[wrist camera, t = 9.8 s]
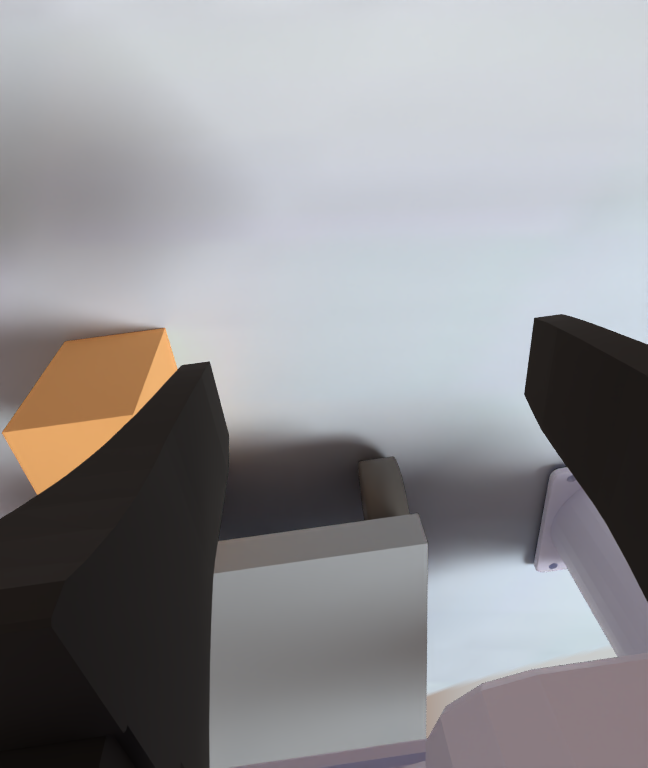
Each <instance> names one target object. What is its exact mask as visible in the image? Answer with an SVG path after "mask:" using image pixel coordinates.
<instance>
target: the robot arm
mask: <svg viewBox="0 0 648 768" xmlns="http://www.w3.org/2000/svg"><path fill="white" fill-rule="evenodd" d="M524 395H525V397H526V399H527V401H528V403H529V406H530V408H531V410H532V412H533V414H534V416H535V418H536V420H537V422H538V424H539V426H540V428H541V430H542V431H543V433H544V434H545V436H546V437H547V439H548V440H549V442H550V443H551V444H552V446H553V447H554V449H555V450H556V452H557V453H558V455H559V456H560V457H561V459H562V460H563V462H564V463H565V465H566V466H567V467H565V468H559V469H556V470H554V471H553V472H552V473H551V475H550V478H549V483H548V489H547V494H546V500H545V505H544V511H543V516H542V521H541V527H540V532H539V538H538V543H537V549H536V554H535V560H534V566H535V568H536V570H537V571H538V572H549V571H556V570H563V569H568V571H569V572H570V574H571V576H572V578H573V579H574V581H575V583H576V585H577V586H578V588H579V590H580V592H581V593H582V595H583V597H584V599H585V600H586V602H587V604H588V606H589V607H590V609H591V611H592V613H593V614H594V616H595V618H596V620H597V621H598V623H599V625H600V627H601V628H602V630H603V632H604V634H605V635H606V637H607V639H608V641H609V642H610V644H611V646H612V648H613V649H614V651H615V653H616V655H617V656H618V657H614V658H607V659H600V660H593V661H587V662H580V663H573V664H566V665H559V666H553V667H546V668H540V669H532V670H528V671H525V672H521V673H518V674H514V675H511V676H507V677H503V678H500V679H496V680H493V681H489V682H486V683H482V684H481V685H479V686H477V687H476V688H474V689H473V690H471V691H470V692H468V693H466V694H465V695H463V696H461V697H460V698H458V699H457V700H455V701H453V702H452V703H451V704H449V705H447V706H446V707H445V709H444V710H443V712H442V714H441V715H440V717H439V719H438V721H437V723H436V724H435V727H434V728H433V730H432V732H431V734H430V736H429V737H428V738H426V739H419V740H412V741H406V742H399V743H392V744H385V745H379V746H372V747H365V748H358V749H351V750H345V751H338V752H331V753H324V754H318V755H311V756H304V757H297V758H291V759H284V760H277V761H270V762H263V763H257V764H250V765H243V766H236V767H230V768H648V344H645V343H642V342H640V341H637V340H634V339H632V338H629V337H626V336H624V335H621V334H618V333H616V332H613V331H611V330H608V329H605V328H603V327H600V326H597V325H595V324H592V323H589V322H586V321H583V320H580V319H577V318H574V317H571V316H567V315H562V314H560V315H553V316H545V317H538V318H534V324H533V332H532V340H531V347H530V355H529V362H528V370H527V378H526V385H525V393H524ZM228 467H229V434H228V430H227V426H226V422H225V418H224V414H223V411H222V407H221V403H220V399H219V395H218V391H217V388H216V384H215V380H214V376H213V372H212V368H211V365H210V362H203V363H195V364H188V365H182V366H181V367H180V368H179V369H178V370H177V371H176V372H175V373H174V374H173V375H172V376H171V377H170V378H169V379H168V380H167V381H166V382H165V384H164V385H163V386H162V387H161V388H160V389H159V390H158V391H157V392H156V393H155V395H154V396H153V397H152V398H151V399H150V400H149V401H148V402H147V403H146V404H145V405H144V406H143V407H142V408H141V409H140V410H139V412H138V413H137V414H136V415H135V416H134V417H133V418H132V419H130V420H129V421H128V422H127V423H126V424H125V425H124V426H123V427H122V428H121V429H120V430H119V431H118V432H117V433H116V434H115V435H114V436H113V437H112V438H111V439H110V440H109V441H107V442H106V443H105V444H104V445H103V446H102V447H101V448H100V449H98V450H97V451H96V452H95V453H94V454H93V455H91V456H90V457H89V458H88V459H86V460H85V461H84V462H83V463H81V464H80V465H79V466H78V467H76V468H75V469H74V470H72V471H71V472H70V473H69V474H67V475H66V476H65V477H63V478H62V479H60V480H59V481H58V482H56V483H55V484H53V485H52V486H50V487H49V488H47V489H46V490H44V491H43V492H41V493H40V494H38V495H37V496H35V497H34V498H32V499H31V500H29V501H28V502H26V503H25V504H23V505H22V506H20V507H19V508H17V509H16V510H14V511H13V512H11V513H9V514H8V515H6V516H4V517H2V518H1V519H0V768H210V751H209V712H210V650H211V617H212V594H213V576H214V567H215V558H216V551H217V545H218V538H219V532H220V525H221V519H222V513H223V506H224V500H225V493H226V486H227V479H228Z"/></svg>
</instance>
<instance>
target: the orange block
mask: <svg viewBox="0 0 648 768" xmlns="http://www.w3.org/2000/svg"><path fill="white" fill-rule="evenodd" d="M177 370H178V369H177V366H176V362H175V359H174V356H173V352H172V349H171V346H170V343H169V339H168V336H167V333H166V329H165V328H161V329H153V330H146V331H138V332H131V333H123V334H116V335H108V336H101V337H93V338H86V339H78V340H71V341H65V342H64V343H63V345H62V346H61V348H60V349H59V351H58V352H57V354H56V355H55V356H54V358H53V359H52V361H51V362H50V364H49V365H48V367H47V368H46V369H45V371H44V372H43V374H42V375H41V377H40V378H39V380H38V381H37V383H36V384H35V385H34V387H33V388H32V390H31V391H30V393H29V394H28V396H27V397H26V398H25V400H24V401H23V403H22V404H21V406H20V407H19V409H18V410H17V412H16V413H15V414H14V416H13V417H12V419H11V420H10V422H9V423H8V425H7V426H6V427H5V429H4V430H3V432H2V434H3V435H4V437H5V439H6V441H7V443H8V444H9V446H10V448H11V450H12V451H13V453H14V455H15V457H16V458H17V460H18V462H19V464H20V465H21V467H22V469H23V471H24V473H25V474H26V476H27V478H28V480H29V481H30V483H31V485H32V487H33V488H34V490H35V492H36V494H37V495H38V494H40V493H41V492H43V491H44V490H46V489H47V488H49V487H50V486H52V485H53V484H55V483H56V482H58V481H59V480H60V479H62V478H63V477H65V476H66V475H67V474H69V473H70V472H71V471H72V470H74V469H75V468H76V467H78V466H79V465H80V464H81V463H83V462H84V461H85V460H86V459H88V458H89V457H90V456H91V455H93V454H94V453H95V452H96V451H97V450H98V449H100V448H101V447H102V446H103V445H104V444H105V443H106V442H107V441H109V440H110V439H111V438H112V437H113V436H114V435H115V434H116V433H117V432H118V431H119V430H120V429H121V428H122V427H123V426H124V425H125V424H126V423H127V422H128V421H129V420H130V419H132V418H133V417H134V416H135V415H136V414H137V413H138V412H139V410H140V409H141V408H142V407H143V406H144V405H145V404H146V403H147V402H148V401H149V400H150V399H151V398H152V397H153V396H154V395H155V393H156V392H157V391H158V390H159V389H160V388H161V387H162V386H163V385H164V384H165V382H166V381H167V380H168V379H169V378H170V377H171V376H172V375H173V374H174V373H175V372H176V371H177Z"/></svg>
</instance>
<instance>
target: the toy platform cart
mask: <svg viewBox="0 0 648 768" xmlns="http://www.w3.org/2000/svg"><path fill="white" fill-rule="evenodd" d="M358 471H359V483H360V492H361V500H362V507H363V514H364V521H359V522H351V523H344V524H337V525H330V526H323V527H316V528H309V529H301V530H294V531H287V532H280V533H273V534H266V535H259V536H252V537H244V538H237V539H230V540H223V541H218V545H217V551H216V558H215V567H214V576H213V594H212V617H211V650H210V712H209V751H210V768H230V767H236V766H243V765H250V764H257V763H263V762H270V761H277V760H284V759H291V758H297V757H304V756H311V755H318V754H324V753H331V752H338V751H345V750H351V749H358V748H365V747H372V746H379V745H385V744H392V743H399V742H406V741H412V740H419V739H426V686H427V578H428V542H427V539H426V536H425V533H424V530H423V527H422V524H421V520H420V517H419V514H418V513H416V514H409V508H408V503H407V498H406V493H405V488H404V484H403V480H402V476H401V473H400V469H399V466H398V464H397V461H396V459H395V458H394V457H387V458H379V459H372V460H365V461H359V462H358Z"/></svg>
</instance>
